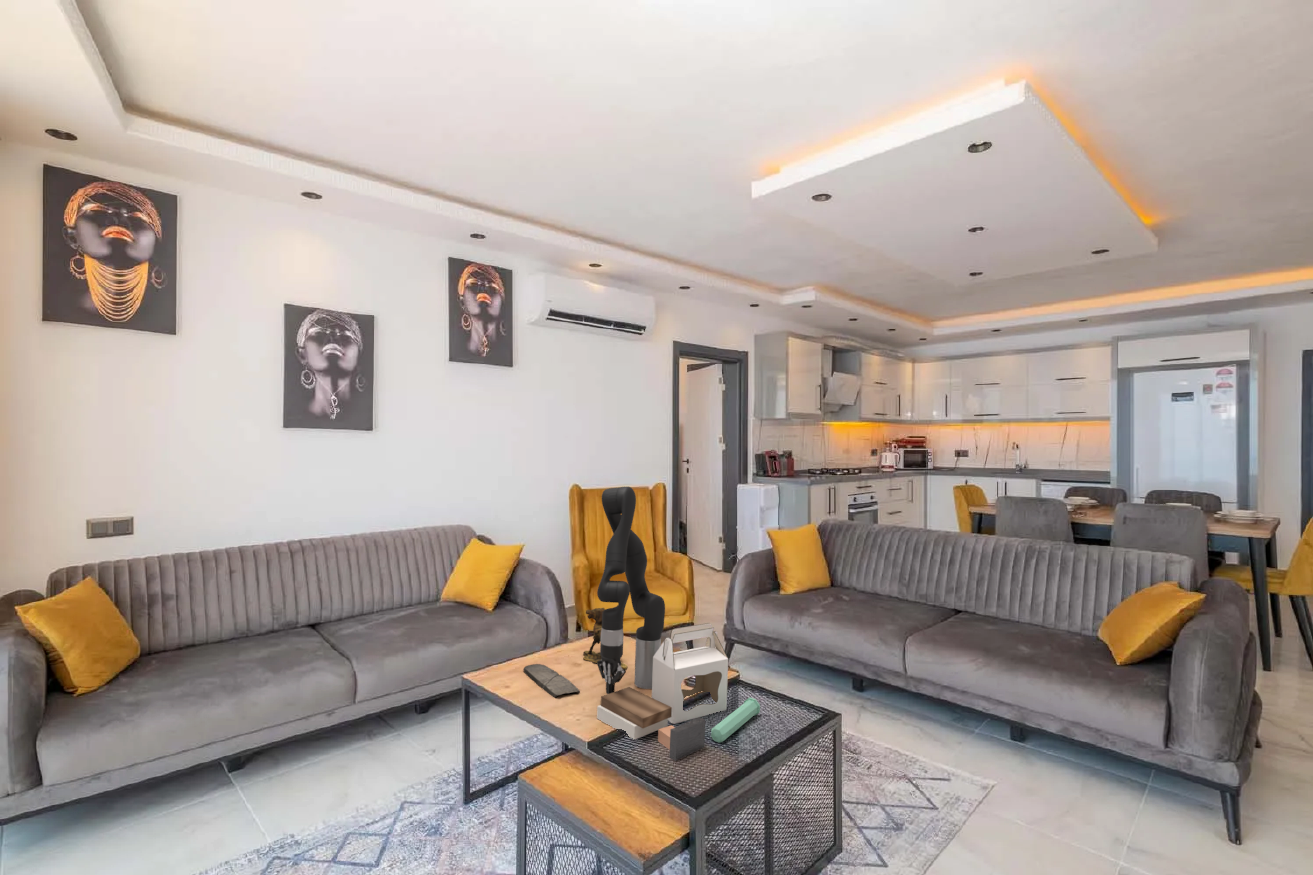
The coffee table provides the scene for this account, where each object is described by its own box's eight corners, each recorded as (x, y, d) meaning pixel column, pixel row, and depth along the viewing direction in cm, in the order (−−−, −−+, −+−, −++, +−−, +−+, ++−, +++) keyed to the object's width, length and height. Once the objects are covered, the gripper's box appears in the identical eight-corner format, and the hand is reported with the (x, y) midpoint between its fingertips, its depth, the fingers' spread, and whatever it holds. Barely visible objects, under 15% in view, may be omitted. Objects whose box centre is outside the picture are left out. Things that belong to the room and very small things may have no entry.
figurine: (599, 649, 264) (601, 601, 264) (637, 666, 245) (639, 615, 245) (574, 655, 255) (576, 606, 255) (612, 674, 237) (613, 621, 237)
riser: (629, 706, 210) (630, 694, 210) (667, 725, 197) (667, 713, 197) (596, 718, 200) (597, 705, 200) (634, 739, 187) (634, 726, 187)
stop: (698, 743, 186) (699, 717, 186) (704, 747, 184) (705, 720, 184) (669, 757, 178) (670, 729, 178) (675, 760, 176) (676, 732, 176)
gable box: (672, 724, 198) (675, 636, 198) (650, 708, 209) (653, 624, 209) (727, 710, 210) (730, 626, 209) (704, 695, 221) (706, 616, 221)
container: (720, 724, 186) (757, 696, 206) (704, 727, 189) (742, 698, 210) (727, 745, 185) (763, 714, 205) (710, 747, 188) (747, 716, 208)
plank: (629, 695, 209) (629, 686, 209) (671, 716, 194) (671, 707, 194) (600, 705, 200) (601, 696, 200) (642, 728, 186) (643, 718, 186)
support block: (671, 737, 190) (671, 725, 190) (683, 745, 185) (683, 733, 185) (657, 741, 187) (658, 729, 187) (669, 750, 182) (670, 737, 182)
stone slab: (545, 660, 244) (582, 685, 219) (545, 669, 243) (582, 694, 219) (520, 666, 238) (555, 691, 213) (520, 674, 238) (555, 701, 213)
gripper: (590, 638, 208) (588, 689, 209) (615, 649, 199) (613, 703, 199) (608, 633, 214) (606, 684, 214) (633, 644, 204) (631, 697, 204)
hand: (610, 693), depth 206 cm, fingers closed
